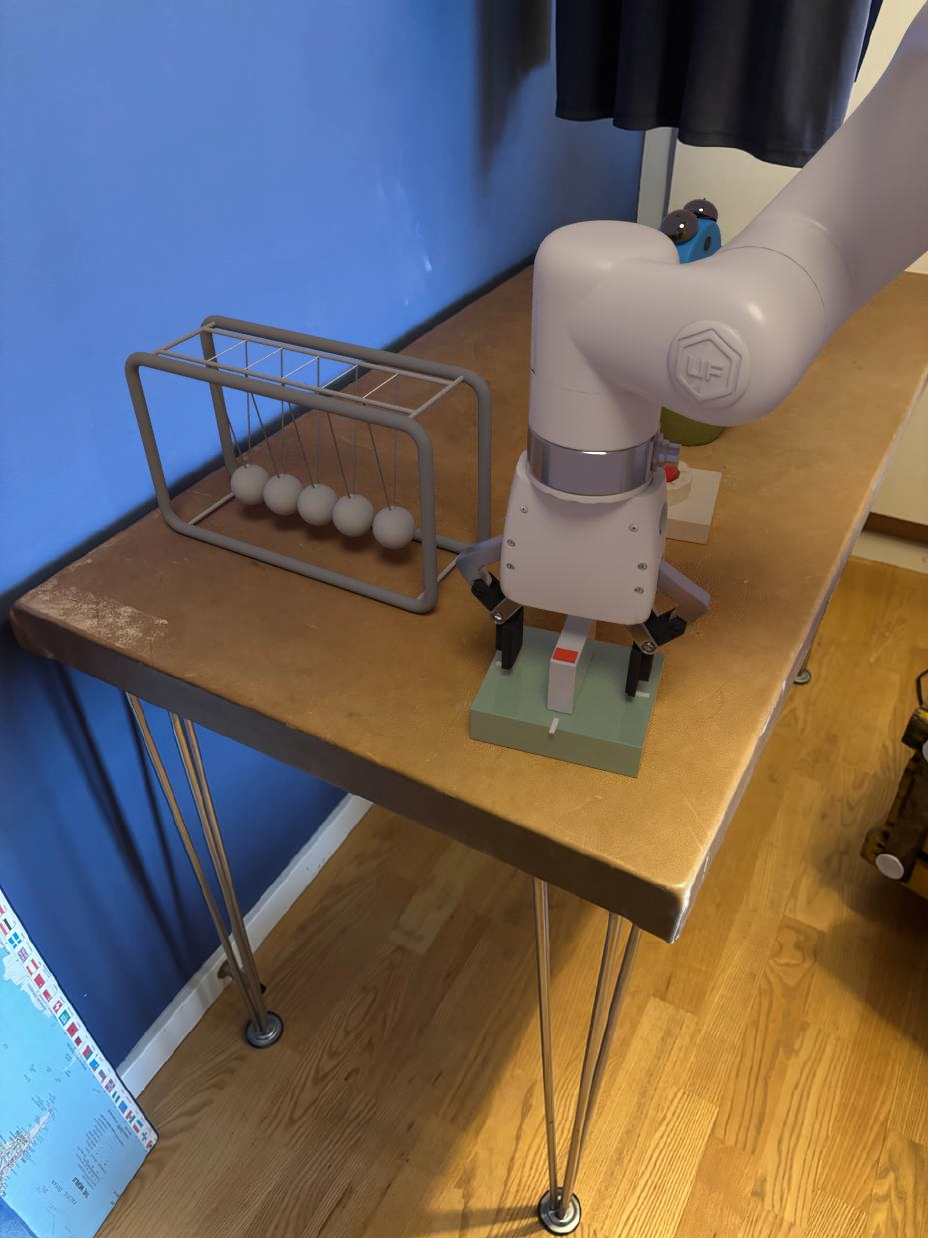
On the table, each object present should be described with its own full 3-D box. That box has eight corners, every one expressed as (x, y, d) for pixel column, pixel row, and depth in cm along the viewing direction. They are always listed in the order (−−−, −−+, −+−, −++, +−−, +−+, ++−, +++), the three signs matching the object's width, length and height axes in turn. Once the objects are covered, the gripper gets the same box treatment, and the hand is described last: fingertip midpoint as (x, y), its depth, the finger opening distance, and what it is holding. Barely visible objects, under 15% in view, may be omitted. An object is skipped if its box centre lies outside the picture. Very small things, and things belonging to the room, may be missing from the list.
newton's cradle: (492, 558, 82) (494, 371, 71) (434, 622, 75) (426, 426, 64) (233, 480, 94) (200, 309, 83) (162, 529, 87) (115, 349, 76)
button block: (718, 491, 91) (725, 455, 89) (706, 545, 84) (713, 507, 81) (600, 473, 94) (603, 438, 92) (578, 523, 87) (581, 486, 84)
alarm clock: (674, 300, 133) (689, 190, 124) (714, 308, 131) (732, 196, 121) (635, 328, 125) (648, 212, 116) (677, 337, 122) (694, 220, 113)
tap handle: (570, 646, 68) (574, 596, 65) (593, 651, 68) (599, 601, 65) (546, 709, 63) (549, 657, 60) (571, 715, 62) (576, 663, 59)
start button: (679, 467, 88) (681, 451, 87) (672, 488, 85) (675, 471, 84) (637, 461, 89) (639, 445, 88) (630, 481, 86) (632, 465, 85)
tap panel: (662, 678, 70) (667, 646, 68) (635, 785, 61) (640, 752, 59) (511, 647, 73) (512, 616, 71) (467, 744, 64) (466, 712, 63)
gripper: (747, 442, 54) (702, 662, 65) (470, 404, 59) (472, 615, 70) (734, 506, 49) (688, 734, 60) (430, 458, 53) (438, 678, 64)
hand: (571, 669), depth 65 cm, fingers open, 8 cm apart
